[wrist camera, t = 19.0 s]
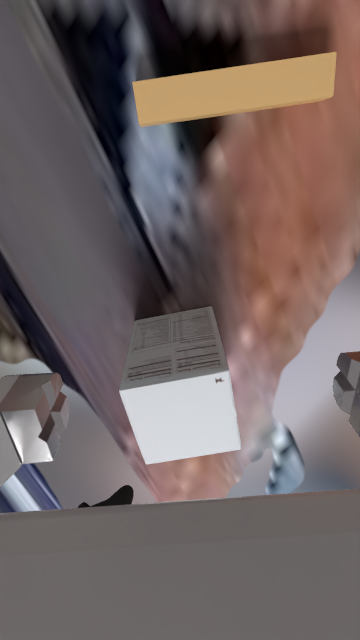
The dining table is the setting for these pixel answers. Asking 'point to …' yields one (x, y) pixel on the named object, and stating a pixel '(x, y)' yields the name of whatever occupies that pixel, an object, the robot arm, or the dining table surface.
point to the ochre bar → (235, 89)
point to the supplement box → (179, 387)
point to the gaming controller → (115, 498)
